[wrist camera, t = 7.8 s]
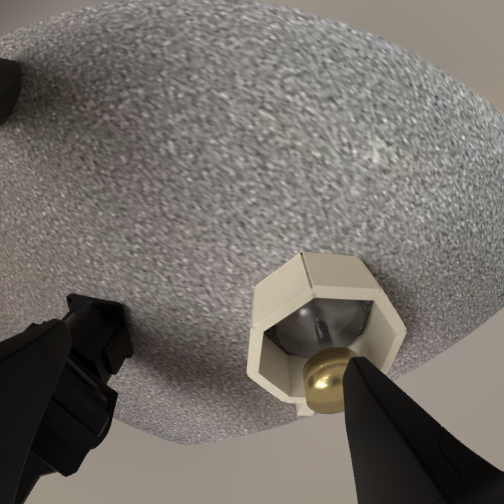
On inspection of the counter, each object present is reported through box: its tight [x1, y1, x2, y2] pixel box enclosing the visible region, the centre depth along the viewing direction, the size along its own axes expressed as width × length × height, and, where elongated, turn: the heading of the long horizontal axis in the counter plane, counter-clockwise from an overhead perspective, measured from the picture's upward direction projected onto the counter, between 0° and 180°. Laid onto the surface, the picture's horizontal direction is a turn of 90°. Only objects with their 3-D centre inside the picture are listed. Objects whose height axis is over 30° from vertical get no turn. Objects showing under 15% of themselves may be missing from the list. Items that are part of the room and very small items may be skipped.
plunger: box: [276, 298, 364, 414], centre depth 18 cm, size 7×7×8 cm
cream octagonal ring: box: [247, 252, 407, 416], centre depth 20 cm, size 11×13×5 cm
